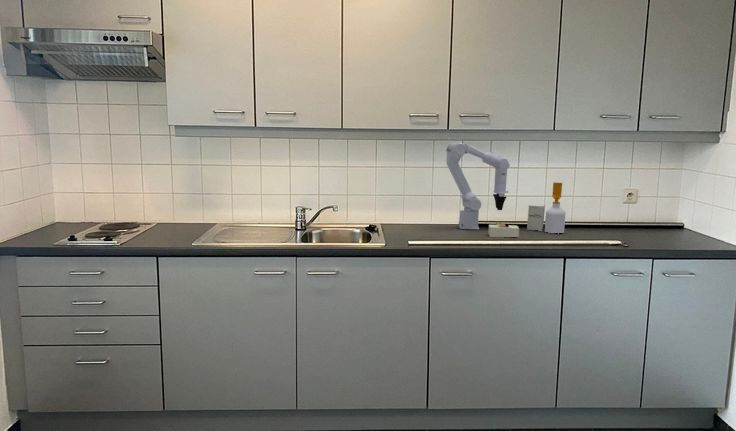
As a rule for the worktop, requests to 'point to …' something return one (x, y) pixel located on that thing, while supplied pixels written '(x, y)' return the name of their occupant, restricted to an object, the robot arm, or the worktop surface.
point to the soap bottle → (555, 213)
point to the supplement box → (535, 217)
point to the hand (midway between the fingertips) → (498, 209)
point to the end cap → (503, 231)
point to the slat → (500, 224)
